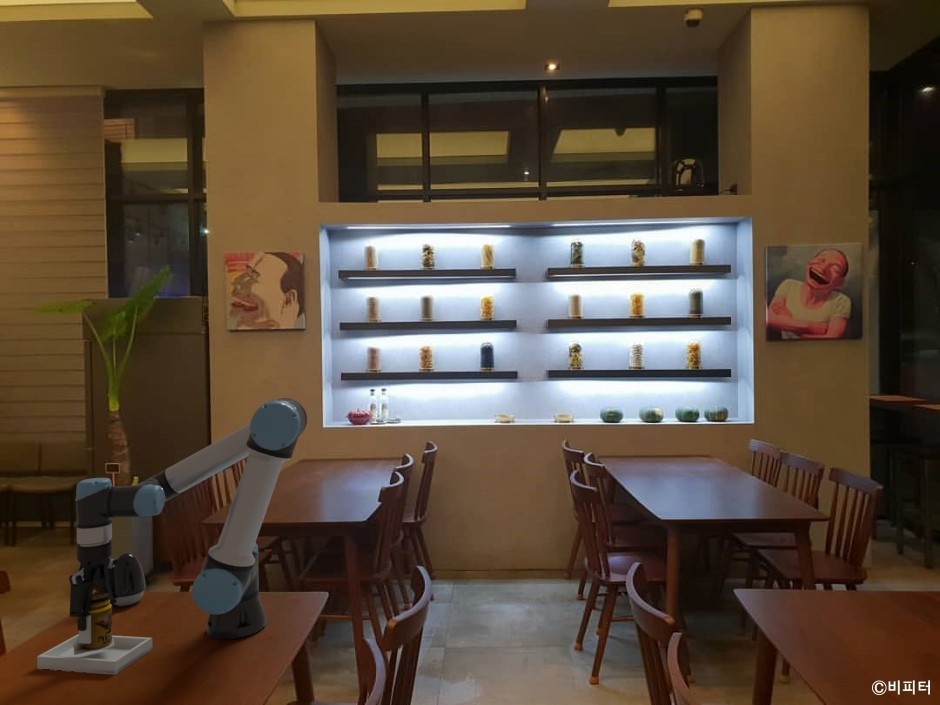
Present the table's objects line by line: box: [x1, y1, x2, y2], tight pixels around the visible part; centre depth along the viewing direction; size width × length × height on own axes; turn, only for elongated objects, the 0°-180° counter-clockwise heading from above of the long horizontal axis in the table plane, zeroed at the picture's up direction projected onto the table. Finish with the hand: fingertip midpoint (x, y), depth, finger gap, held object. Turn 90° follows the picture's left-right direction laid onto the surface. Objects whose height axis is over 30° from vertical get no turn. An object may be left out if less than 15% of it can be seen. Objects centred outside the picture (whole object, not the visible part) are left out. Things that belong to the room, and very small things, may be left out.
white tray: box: [36, 633, 153, 676], centre depth 159 cm, size 21×13×3 cm, turn 80°
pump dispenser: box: [112, 552, 146, 607], centre depth 196 cm, size 10×10×15 cm
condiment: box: [73, 592, 115, 655], centre depth 158 cm, size 7×8×12 cm
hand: (95, 636), depth 159 cm, fingers closed on condiment, 6 cm apart
